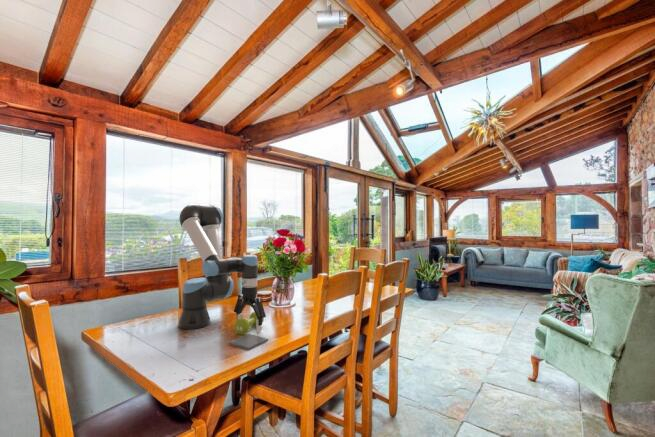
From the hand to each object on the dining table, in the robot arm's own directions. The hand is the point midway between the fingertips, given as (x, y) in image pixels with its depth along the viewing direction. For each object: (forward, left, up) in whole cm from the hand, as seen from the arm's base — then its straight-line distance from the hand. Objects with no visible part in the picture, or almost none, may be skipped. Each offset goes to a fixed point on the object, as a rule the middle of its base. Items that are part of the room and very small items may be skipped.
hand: (249, 329), depth 157 cm
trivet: (+12, -12, 0) cm, 17 cm away
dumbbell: (0, 0, -1) cm, 1 cm away
